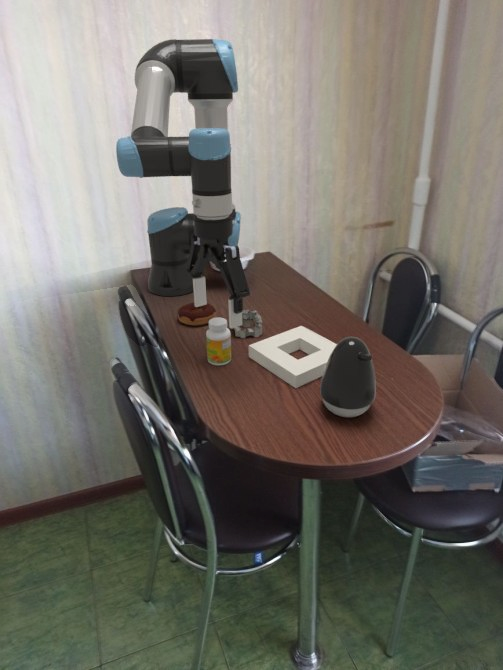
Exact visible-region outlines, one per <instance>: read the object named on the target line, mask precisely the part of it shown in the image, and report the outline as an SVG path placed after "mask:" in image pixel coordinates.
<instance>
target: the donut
mask: <svg viewBox="0 0 503 670" xmlns="http://www.w3.org/2000/svg"><path fill="white" fill-rule="evenodd" d="M216 312H217V310H216V308H215V306H214V305H212V304H211V303H208V302H207V304H206V305H203V306H199V307H195V304H194V302H190V303H186V304H184V305H182V306H180V307H179V309H178V310H177V315H178V316H177V318H178V321H179V322H180V323H183V324H184V325H188V326H195V327H197V326H204V325H207V324H209V320H210V319H212V318H217V313H216Z"/></svg>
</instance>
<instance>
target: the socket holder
mask: <svg viewBox="0 0 503 670" xmlns="http://www.w3.org/2000/svg"><path fill="white" fill-rule="evenodd" d="M337 344H338V343H335V342H333V341H331V340H329V339H327V338H326V337H324V336H322V335H320V334H318V333H317V332H315V331H313V330H311V329H309V328H308V327H305V326H303V325H299V326H297V327H294V328H291V329H289V330H288V329H287V330H286V331H283V332H281V333H278V334H275V335H273V336H270V337H267V338H265V339H261V340H259V341H257V342H253V343H251V344H249V345H248V358H250V359H251V360H252V361H255V363H257V364H258V365H260V366H261V367H263V368H265V369H266V370H268V371H269V372H270V373H272V374H273V375H275V376H277V377H278V378H279V379H281V380H282V381H284V382H286V383H287V384H288V385H290V386H291V387H293V388H294V389H298V388H299V387H301V386H304V385H306V384H309V383H310V382H312V381H315V380H317V379H319V378H322V376H323V372H324V369H325V366H326V364H327V361H328V359H329V357H330V355H331V353H332V351H333V349H334V348H335V346H336V345H337ZM299 350H300V351H302V352H303V353H306V354H307V355H306V356H304V357H301V358H299V359H297V358H296V357H294V356H292V355H291V353H294V352H297V351H299Z"/></svg>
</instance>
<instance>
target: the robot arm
mask: <svg viewBox="0 0 503 670" xmlns="http://www.w3.org/2000/svg"><path fill="white" fill-rule="evenodd" d="M236 65H237V64H236V59H235V53H234V48H233V45H232V43H231V42H230V41H229V40H225V39H217V38H209V39H208V38H204V39H201V38H199V39H166V40H164V41H160V42H158V43H157V44H155V45H153V46H152V47H151V48H149V49H148V50H147V51H146V52H145V53H144V54H143V56H142V57H141V58H140V59H139V61H138V64H137V65H136V69H135V72H134V85H135V87H136V96H135V98H136V99H135V103H134V109H133V110H134V111H133V116H132V117H133V118H132V124H131V130H130V136H129V135H128V136H126V137H120V138H118V139H117V141H116V146H115V147H116V148H115V149H116V151H115V153H116V160H117V166H118V170H119V172H120V174H121V175H122V176H123V177H129V178H130V177H131V178H140V179H143V178H159V177H160V178H161V177H191V194H192V201H191V204H192V209H193V211H192V212H193V213H190V212H189V211H188V209H187V208H186V207H178V206H176V207H168V208H163V209H159V210H156V211H154V212H153V213H151V214H150V215H149V216H148V217H147V222H146V224H147V234H148V242H149V251H150V260H151V265H150V266H151V267H150V270H149V275H148V280H147V286H148V287H147V288H148V291H149V292H150V293H152V294H154V295H156V296H163V297H176V296H183V295H187V294H190V293H192V292H193V303H194V304H195V307H199V306H203V305H206V304H207V303H208V302H207V301H208V300H207V289H206V288H207V286H206V284H207V283H206V276H204V275H206V273H205V271H206V269H207V267H208V265H209V264H210V262H211V263H212V264H213V265H214V266H215V268H216V269H218V270H219V272H220V274H221V277H222V278H223V282H224V283H225V286H226V288H227V290H228V293H229V295H230V296H229V297H228V299H227V300H228V326H229V329H234V328H235V327H238V326H239V327H242V311H243V310H244V307H243V305H244V301H243V299H244V298H247V297H250V296H251V293H250V292H251V291H250V289H249V284H248V282H247V277H246V274H245V272H244V267H243V264H242V260H241V255H240V248H239V240H240V234H241V233H240V231H241V218H242V217H241V213H240V211H236V205H235V204H234V202H233V193H232V192H233V191H232V154H231V153H232V144H231V135H230V132H229V128H228V127H229V125H228V121H229V120H228V106H230V105H231V104H232V103H233V100H234V98H233V95H234V94H235V93H237V92H238V91H239V83H238V72H237V66H236ZM173 93H181V94H183V93H185V94H187V101H188V102H189V103H190V104H191V105H192V107H193V109H194V122H195V125H194V126H195V128H193V129H191V130H190V131H189V132H188V136H169V121H170V106H171V96H172V95H173ZM225 260H226V261H225Z"/></svg>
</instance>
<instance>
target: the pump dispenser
mask: <svg viewBox="0 0 503 670" xmlns="http://www.w3.org/2000/svg"><path fill="white" fill-rule="evenodd" d="M336 344H337V345H336V346H335V348H334V349H333V351H332V353H331V355H330V357H329V359H328V361H327V364H326V366H325V369H324V372H323V376H321V381H320V385H319V393H320V396H321V398H322V399H321V400H322V401H323V404H324V406H325V407H326V408H327V410H328V411H330V412H331V413H332V414H333V415H336V416H339V417H342V418H355V417H358V416H360V415H362V414H364V413H365V412H366V411H368V410H369V408H370V407H371V405H372V403H373V402H374V401H375V399H376V393H377V392H376V391H377V383H376V372H375V367H374V363H373V357H372V355H371V353H370V350H369V348H368V346H367V344H366V343H365V342H364V341H363V340H362V339H360V338H359V337H356V336H348V337H344V338H343V339H341V340H340V341H339V342H338V343H336Z"/></svg>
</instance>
